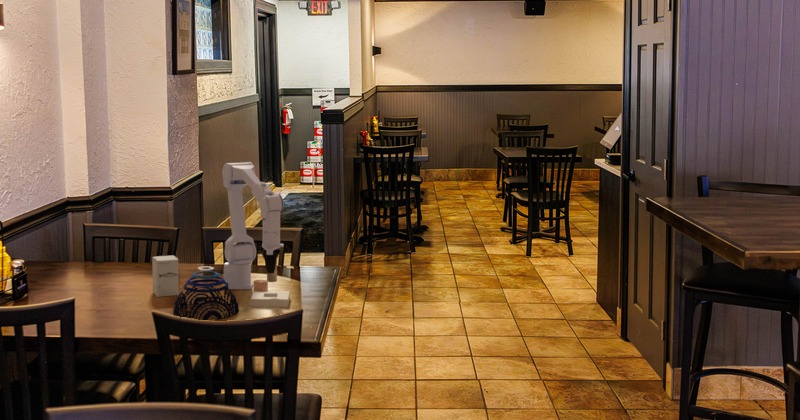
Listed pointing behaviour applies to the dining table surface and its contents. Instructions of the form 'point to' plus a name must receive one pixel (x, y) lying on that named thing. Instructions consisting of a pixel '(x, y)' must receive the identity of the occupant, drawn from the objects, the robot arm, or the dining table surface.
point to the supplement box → (165, 276)
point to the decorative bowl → (199, 299)
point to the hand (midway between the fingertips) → (271, 271)
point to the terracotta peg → (260, 285)
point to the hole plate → (270, 298)
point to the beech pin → (272, 275)
